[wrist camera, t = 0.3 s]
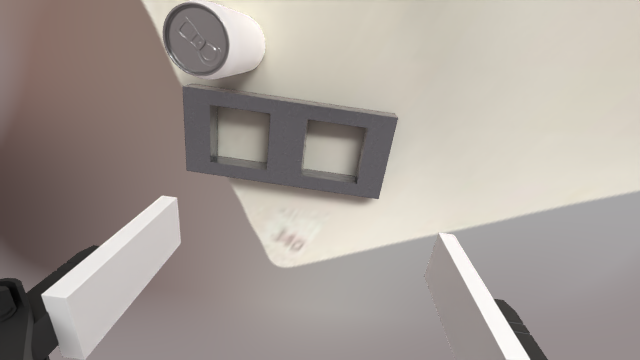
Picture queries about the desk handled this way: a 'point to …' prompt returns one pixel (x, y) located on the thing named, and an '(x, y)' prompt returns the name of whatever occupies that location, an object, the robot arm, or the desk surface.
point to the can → (212, 40)
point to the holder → (285, 140)
